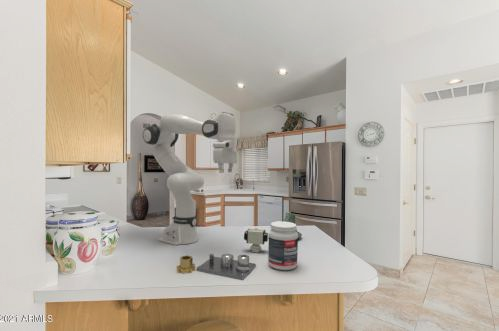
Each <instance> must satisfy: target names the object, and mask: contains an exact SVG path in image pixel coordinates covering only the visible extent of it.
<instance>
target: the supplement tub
mask: <svg viewBox="0 0 499 331" xmlns="http://www.w3.org/2000/svg"><path fill="white" fill-rule="evenodd" d="M296 229H298V228H297V224H296V223H295V224H294V223H291V222H284V221H280V220H278V221H272V222H271V223H270V230H269V232H268V238H269V239H268V249H267V250H268V251H267V252H268V257H267V260H268V261H267V262H268V265H269V266H270V267H271V268H273V269H276V270H281V271H289V270H293V269H295V268H297V266H298V248H299V238H298V233H297V232H298V231H297V232H296Z"/></svg>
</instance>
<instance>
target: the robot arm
mask: <svg viewBox="0 0 499 331" xmlns="http://www.w3.org/2000/svg"><path fill="white" fill-rule="evenodd" d="M236 126H237V125H236V117H235V115H234V114H233V113H229V112H226V111H225V112H224V111H221V112H219V113H218V114H217V115H216V116H214V117H212V118H211V119H206V120H205V121H204V122H202V121H199V120H197V119H194V118H192V117H190V116H187V115H185V114H180V113H167V114H163V115H162V116H161V118H160V120H159V123H158V124H156V123H153V124H152V125H150V126H147V127H145V128H144V130H143V132H142V139H143V141H144V143H146V144H148V145H151V146H154V145H155V146H154V147H153V149H152V155H153V157H154V159H155V161H156V162H157V163H158V165H159V166H160V167H161V168H162V169H163V171H164V172H165V173H166V175H168V178H167V179H166V187H167V188H168V189H167V190H169V191H170V192H171V193H172V195H173V197H174V201H175V215H174V216H171V220H172V223H170V224H169V225H167V226H166V227H165V228H164V230H163V232H162V235H161V236H160V237H159V238H158V241H159V242H163V243H166V244H170V245H173V246H174V245H175V246H178V245H187V244H188V245H189V244H194V243H196V242H197V241H199V238H198V233H197V214H196V213H197V202H196V200H195V199H194V198H193V197H192V192H194V191H198V190H199V189H202V187H204V183H205V178H204V176H203V174H202V173H199V172H197V171H195V170H194V169H192V168H191V167H189V166H188V165H187V164H185V163H184V162H183V161H182V160H181V159H180V157H179V156H177V154H176V153H175V152H174V151H173V150H172V147H174V146H175V144H176V143H177V141H178V140H179V135H190V134H191V135H192V134H193V135H195V134H197V135H198V134H199V135H200V134H201V135H202V136H204V137H205V138H208V139H211V140H217V141H215V142H213V143H212V148H213V150H212V152H213V153H212V157H213V158H212V159H213V163H214V164H217V166H218V170H219V173H220V174H223V173H224V172H225V169H224V164H228V168H227V172H228V173H233V168H234V164H237V162H238V151H237V149H236V136H235V135H236V131H237V129H236Z"/></svg>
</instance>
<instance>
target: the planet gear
mask: <svg viewBox="0 0 499 331" xmlns="http://www.w3.org/2000/svg"><path fill="white" fill-rule="evenodd" d="M193 261H194V260H193V256H192V255H183V256H180V259H179V265H176V272H177V273H178V272H179V273H182V272H183V273H185V274H186V273H193V271H196V269H197V267H196V265H195V263H193ZM183 273H182V274H183Z"/></svg>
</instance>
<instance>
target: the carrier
mask: <svg viewBox="0 0 499 331" xmlns="http://www.w3.org/2000/svg"><path fill="white" fill-rule="evenodd" d="M256 267H257V264H256V263H254V262H250V256H249V255H248V254H239V255H237V260H236V259H234V255H233V254H231V253H223V254H221V255H220V257H219V256H218V257H217V256H215V255H214V254H213V253H211V254H209V259H207V260H206V261H204V262H203V263H202V264H200V265H199V266H197V267H196V272H202V273H205V274H206V273H207V274H212V275H217V276H222V277H225V278H230V279H231V278H232V279H236V280H241V281H244V279H246V278H247V277H248V276H249V275H250V274H251V273H252V272H253V270H254V269H255V268H256Z"/></svg>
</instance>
